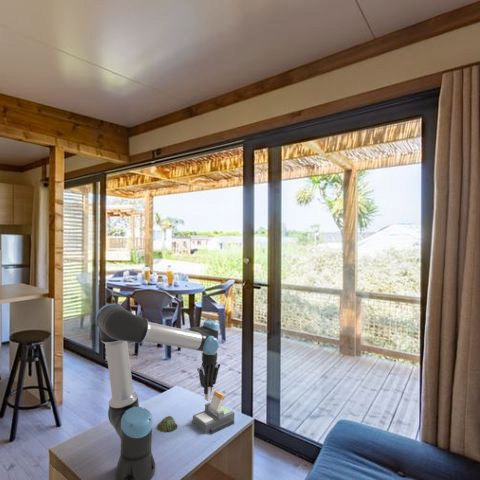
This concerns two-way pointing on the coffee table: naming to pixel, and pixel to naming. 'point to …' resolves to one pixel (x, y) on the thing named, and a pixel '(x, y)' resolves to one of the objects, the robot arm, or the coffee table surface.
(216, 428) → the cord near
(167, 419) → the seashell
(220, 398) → the lever
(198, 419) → the stepped grey box
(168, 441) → the coffee table surface
